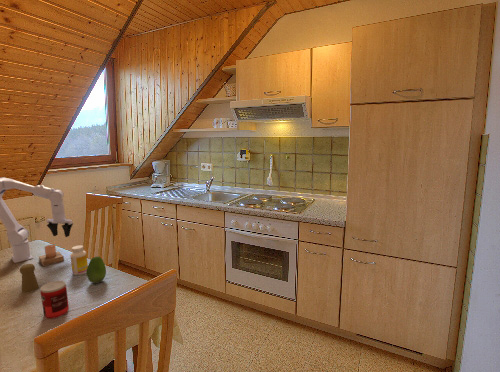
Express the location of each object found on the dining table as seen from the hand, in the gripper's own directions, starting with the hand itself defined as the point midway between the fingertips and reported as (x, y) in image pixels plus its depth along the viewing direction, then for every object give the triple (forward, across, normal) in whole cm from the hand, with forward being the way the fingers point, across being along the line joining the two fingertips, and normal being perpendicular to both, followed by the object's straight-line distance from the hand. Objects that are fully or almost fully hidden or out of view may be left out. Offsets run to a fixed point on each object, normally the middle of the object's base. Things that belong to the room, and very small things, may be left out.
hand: (61, 236), depth 161 cm
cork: (+11, +16, -35) cm, 40 cm away
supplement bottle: (+11, +26, -17) cm, 33 cm away
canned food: (+11, +41, -47) cm, 64 cm away
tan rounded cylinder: (+8, +1, -9) cm, 12 cm away
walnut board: (+10, +1, -9) cm, 14 cm away
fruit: (+11, +40, -24) cm, 48 cm away
